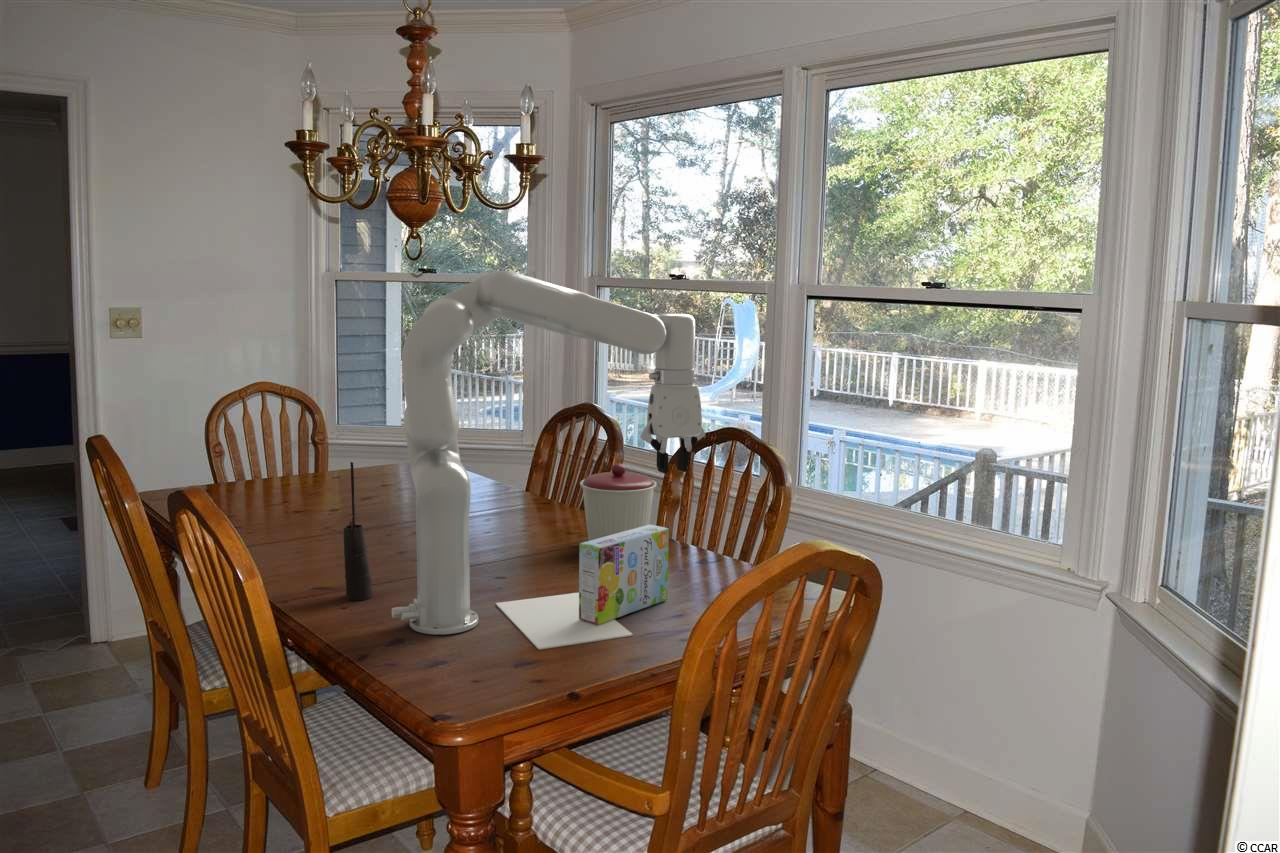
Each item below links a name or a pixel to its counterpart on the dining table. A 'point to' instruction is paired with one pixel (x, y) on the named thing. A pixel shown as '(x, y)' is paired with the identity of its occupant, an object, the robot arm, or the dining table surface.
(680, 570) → the dining table surface
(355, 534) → the butter churn
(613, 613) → the snack box
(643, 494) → the canister
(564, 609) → the mat
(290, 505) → the dining table surface
